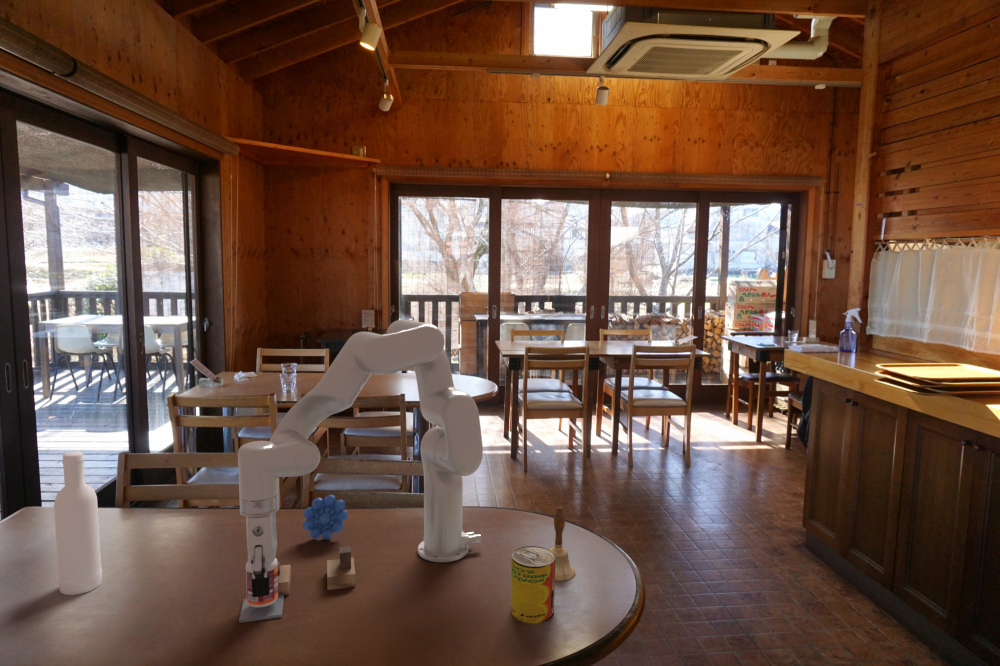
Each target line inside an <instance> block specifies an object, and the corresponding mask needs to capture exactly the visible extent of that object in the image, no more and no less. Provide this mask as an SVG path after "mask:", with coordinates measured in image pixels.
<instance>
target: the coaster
mask: <svg viewBox="0 0 1000 666" xmlns="http://www.w3.org/2000/svg"><path fill="white" fill-rule="evenodd" d="M284 599H285V596H284V594H281V595H278V598H277V600H276V601H275V602H274V603H273V604H271V605H269V606H265V607H251V606H249V605H248V604H247V601H246V598H244V599H243V601H242V606H241V609H240V613H239V618H238V623H240V624H242V623H248V622H249V623H250V622H257V621H263V620H271V619H278V618H283V617H282V616H283V609H284V602H285V601H284Z"/></svg>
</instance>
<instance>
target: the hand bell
mask: <svg viewBox="0 0 1000 666" xmlns="http://www.w3.org/2000/svg"><path fill="white" fill-rule="evenodd" d="M555 510H556V511H555V513H554V516H553V526H554V527H553V528H554V531H555V539H554V546H552V547H550V548H549V549H548V550H550V551H552V552H553V553H554V554H555V582H565V581H570V580H572V579H573V578H575V576H576V571H575V568H574V567H573V566H572V565H571V563H570V559H569V552H568V550H567V549H566V548H565V547H563V532H564V529H565V524H566V515H565V513H564V508H563V506H557V507H556V509H555Z"/></svg>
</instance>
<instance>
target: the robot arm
mask: <svg viewBox="0 0 1000 666" xmlns="http://www.w3.org/2000/svg"><path fill="white" fill-rule="evenodd" d="M444 347H445V337H444V334H443V332H442V330H440V328H438V327H437V325H435V324H432V323H428V322H421V321H417V320H411V319H398V320H395V321H393V322H392V323H390V325H389V326H388V327H387V330H386V333H384V334H379V333H376V332H375V333H374V332H372V331H359V332H356V333H354V334H352V335H351V336H350V337H349V338H348V339H347V340H346V342H345V343H344V345H343V347H342V348H341V349H340V351H339V353H338V354H337V355H336V357H335V358H334V359H333V361H332V362H331V364H330V366H329V367H328V369H327V370H326V372H325V373H324V375H322V377H321V379H320V380H319V382H318V383H317V384H316V385H315V386H314V388H312V389H311V390H310V391H308V392H307V393H306V394H305V395H304V396H302V398H300V399H299V400H298V401H297V402H296V403H295V404H294V405H293V406H292V407H290V409H289V410H288V411H287V412H286V413H285V415H284V417H283V418H282V419H281V421H280V423H278V425H277V427H276V428H275V430H274V431H273V433H272V434H271V436H270V439H269V441H268V440H254V441H250V442H247V443H244V444H242V445H241V446H240V447H239V448H238V451H237V468H238V469H237V470H238V471H237V472H238V496H239V497H238V498H239V514H240V515H241V516H243V517H245V521H246V523H245V524H246V525H245V526H246V527H245V528H246V529H245V530H246V547H247V548H246V549H247V562H249V564H250V565H253V567H252V596H253V597H260V596H268V595H269V593H270V588H269V575H268V562H271V563H273V562H274V560H275V558H276V555H277V550H278V549H277V548H278V538H277V537H278V536H277V522H276V521H277V520H276V519H277V517H276V513H277V512H278V511H279V510H280V506H281V505H280V485H279V484H280V482H279V481H280V478H284V477H285V478H286V477H291V478H292V477H302V476H306V475H308V474H311V473H312V472H314V470H316V469H317V467H318V465H319V464H320V461H321V452H320V449H319V448H318V446H317V445H316V444H315V443H314V442H312V441H311V440H309V438H310V436H311V434H312V433H313V431H314V430H315V429H316V427H318V426H319V424H320V423H321V422H323V421H324V420H326V419H327V418H328V417H330V416H332V415H335V414H338V413H340V412H343V411H345V410H347V409H350V407H351V406H352V405H354V402H355V401H356V399H357V397H358V396H359V395H360V393H361V391H362V390H363V389H364V387H365V385H366V384H367V382H368V381H369V379H370V378H371V376H372V375H378V376H381V375H382V376H383V375H384V376H385V375H389V374H395V373H397V372H401V371H404V370H408V369H412V368H413V370H414V375H415V377H416V378H415V379H416V384H417V391H418V401H419V407H420V413H421V415H422V417H423V419H424V420H426V422H429V423H430V424H432V425H435V426H434V427H431V428H429V429H428V430H427V431H426V432H425V433H424V434H423V437H422V439H421V441H420V458H421V462H422V468H423V469H422V470H423V486H424V487H423V489H424V490H423V508H424V509H423V511H424V512H423V541H421V542H420V543H419V544H418V546H417V555H419V557H421V559H424V560H426V561H428V562H433V563H450V562H455V561H459V560H460V559H462V558H464V557H465V556H466V555H467V554H468V553H469V545H470V544H477V543H478V544H479V543H482V535H481V534H475V533H474V531H470V532H468V531H467V532H465V531H463V502H464V501H463V493H464V487H463V486H464V482H463V477H468V476H472V475H473V474H474V473H475V472H477V471H478V470H479V468H480V466H481V463H482V461H483V453H484V448H483V447H484V446H483V438H482V430H481V429H482V427H481V422H480V421H481V419H480V413H479V407H478V406H477V404H476V401H475V400H474V398H473V397H472V396H471V394H469V393H467V392H465V391H463V390H459V389H457V388H455V387H456V386H455V385H454V380H453V374H452V369H451V368H452V367H451V364H450V359H449V356H448V355H447V352H446V351H445V348H444ZM262 546H263V551H262ZM262 558H265V561H262ZM262 565H264V569H263V568H262Z"/></svg>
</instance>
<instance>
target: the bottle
mask: <svg viewBox="0 0 1000 666" xmlns="http://www.w3.org/2000/svg"><path fill="white" fill-rule="evenodd" d="M84 462H85V457H84V452H83V451H69V452H66V453H64V454H63V455H62V461H61V464H62V466H63V467H62V468H63V478H64V480H63V481H64V486H63V487H62V488H61V489H60V491H58V492H57V493H56V496H55V499H54V503H53V509H54V510H53V511H54V524H55V527H54V528H55V542H56V553H57V554H56V555H57V568H58V587H59V593H61V594H62V595H66V596H76V595H77V596H78V595H82V594H86V593H89V592H91V591H93V590H96V589H97V588H98V587H99V586H101V584H102V583H103V567H102V559H101V558H102V556H101V541H100V540H101V539H100V527H99V526H100V525H99V524H100V523H99V522H100V521H99V511H98V509H99V507H98V505H99V504H98V496H97V493H96V491H95V489H94V488H93V487H92V486H90V485H89V484H87V483H86V481H85V465H84Z"/></svg>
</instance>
